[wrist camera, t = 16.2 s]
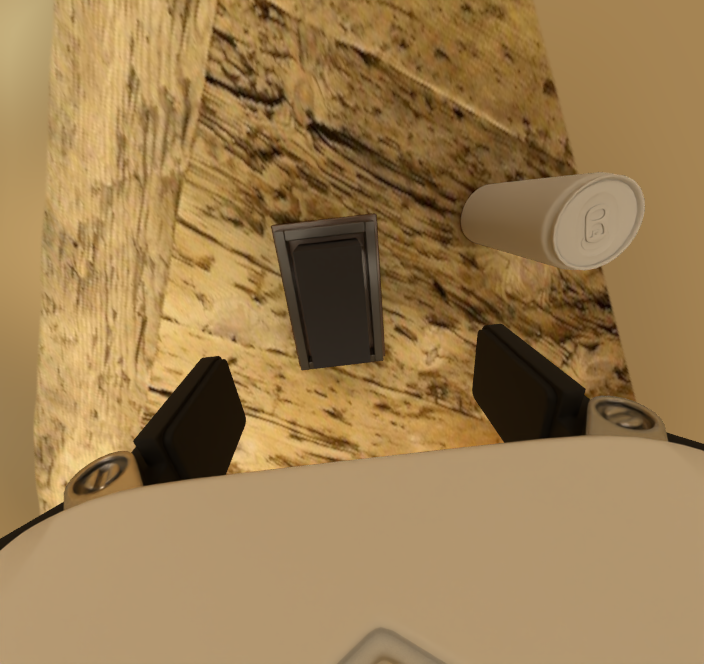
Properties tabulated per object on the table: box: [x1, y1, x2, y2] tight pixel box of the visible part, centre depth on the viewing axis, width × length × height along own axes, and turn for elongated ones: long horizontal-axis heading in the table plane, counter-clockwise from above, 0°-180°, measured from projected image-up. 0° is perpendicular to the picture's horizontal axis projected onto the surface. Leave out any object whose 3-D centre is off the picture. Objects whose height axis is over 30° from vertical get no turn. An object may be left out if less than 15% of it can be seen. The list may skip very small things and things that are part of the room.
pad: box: [293, 238, 371, 369], centre depth 25 cm, size 10×5×4 cm, turn 6°
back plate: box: [271, 214, 385, 370], centre depth 26 cm, size 14×9×2 cm, turn 6°
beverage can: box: [461, 172, 645, 270], centre depth 20 cm, size 5×5×12 cm
